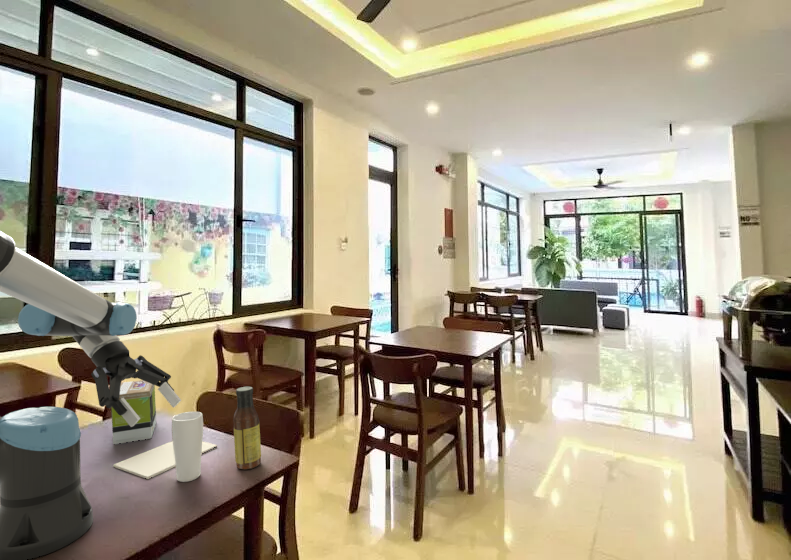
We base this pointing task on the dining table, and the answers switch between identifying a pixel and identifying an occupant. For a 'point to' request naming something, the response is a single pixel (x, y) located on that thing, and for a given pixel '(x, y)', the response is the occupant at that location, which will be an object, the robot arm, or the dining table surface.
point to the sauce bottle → (246, 431)
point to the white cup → (187, 445)
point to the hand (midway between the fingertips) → (157, 412)
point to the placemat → (154, 460)
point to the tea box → (143, 404)
